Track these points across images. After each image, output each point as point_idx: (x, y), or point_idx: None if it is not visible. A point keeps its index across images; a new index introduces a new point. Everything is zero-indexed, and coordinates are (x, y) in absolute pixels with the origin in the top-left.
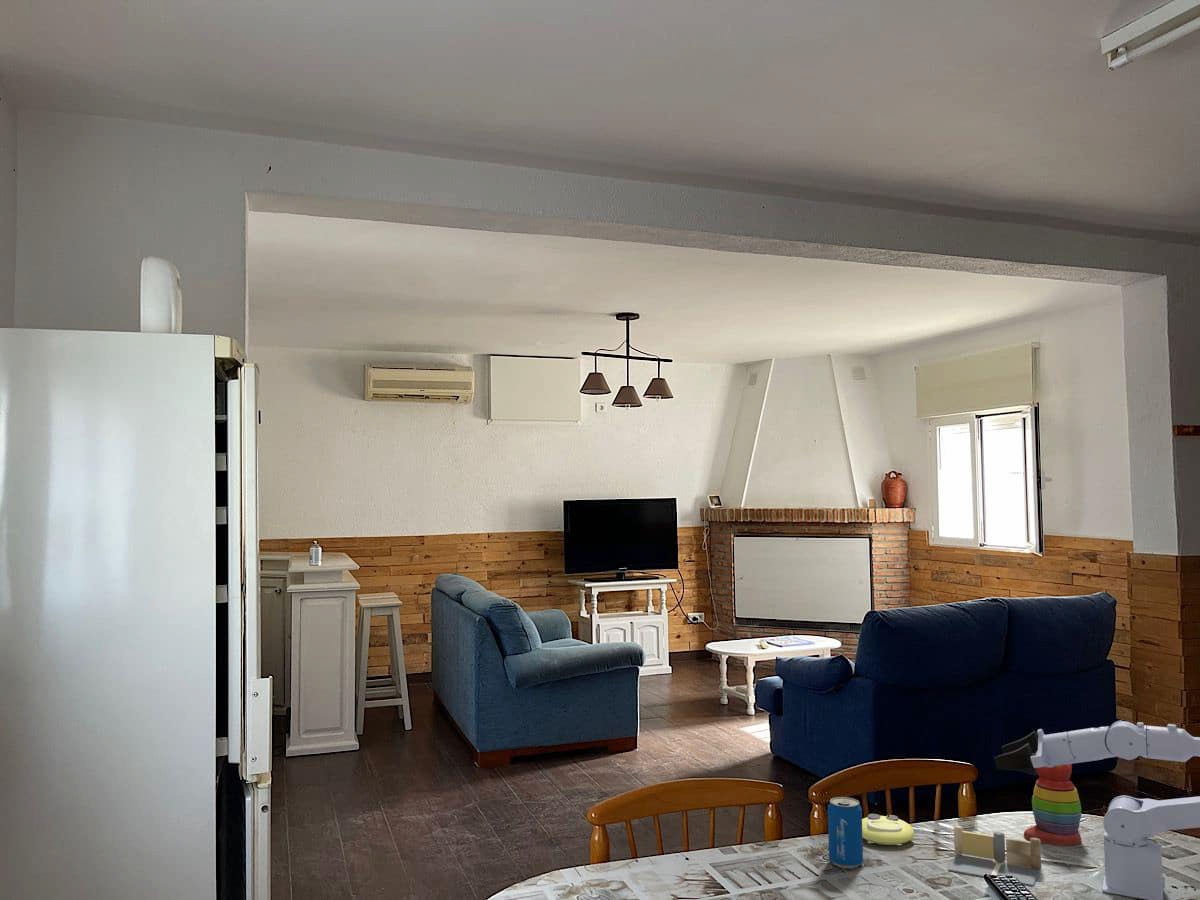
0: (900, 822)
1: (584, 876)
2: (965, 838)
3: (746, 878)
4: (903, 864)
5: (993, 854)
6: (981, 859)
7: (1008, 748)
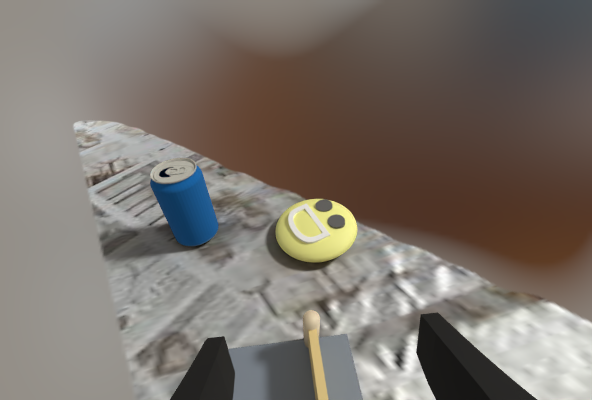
0: (326, 234)
1: (104, 130)
2: (309, 342)
3: (123, 188)
4: (227, 284)
5: None
6: (312, 389)
7: (438, 355)
